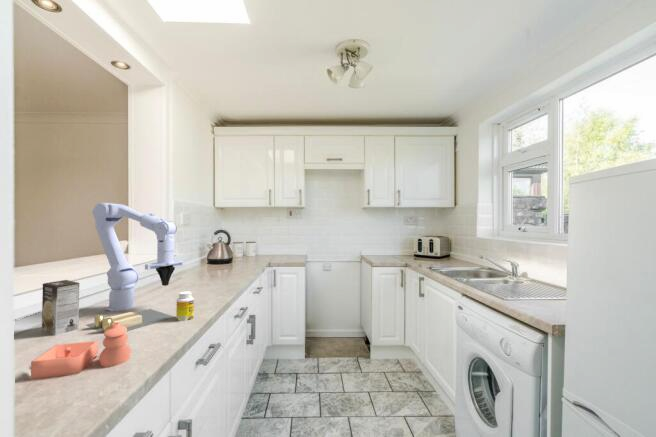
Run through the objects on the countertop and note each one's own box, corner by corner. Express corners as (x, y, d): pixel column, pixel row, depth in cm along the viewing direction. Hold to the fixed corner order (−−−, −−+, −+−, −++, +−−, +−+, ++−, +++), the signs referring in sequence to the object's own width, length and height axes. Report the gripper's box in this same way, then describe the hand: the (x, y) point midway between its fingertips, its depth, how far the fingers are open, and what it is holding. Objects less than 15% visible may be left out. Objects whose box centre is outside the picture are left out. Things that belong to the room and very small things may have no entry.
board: (85, 327, 98) (85, 324, 98) (150, 310, 116) (150, 309, 116) (109, 338, 88) (109, 336, 88) (176, 319, 106) (176, 317, 106)
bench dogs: (93, 328, 95) (93, 316, 95) (101, 325, 97) (101, 314, 97) (104, 333, 90) (104, 320, 90) (113, 331, 92) (113, 318, 92)
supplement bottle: (190, 322, 102) (190, 294, 103) (173, 323, 102) (174, 294, 102) (195, 317, 108) (195, 290, 108) (179, 318, 107) (180, 290, 107)
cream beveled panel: (104, 325, 97) (104, 318, 97) (130, 318, 104) (130, 311, 104) (115, 330, 93) (115, 322, 93) (141, 323, 100) (142, 315, 100)
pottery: (30, 380, 66) (31, 337, 66) (56, 361, 75) (56, 323, 75) (122, 368, 71) (123, 328, 71) (135, 352, 80) (136, 316, 80)
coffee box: (40, 333, 92) (41, 283, 93) (65, 326, 98) (66, 279, 98) (55, 338, 89) (55, 286, 89) (80, 331, 94) (80, 282, 94)
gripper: (151, 253, 107) (151, 290, 107) (188, 250, 120) (188, 283, 120) (142, 252, 111) (141, 287, 111) (178, 249, 123) (178, 281, 123)
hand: (165, 285), depth 116 cm, fingers closed
